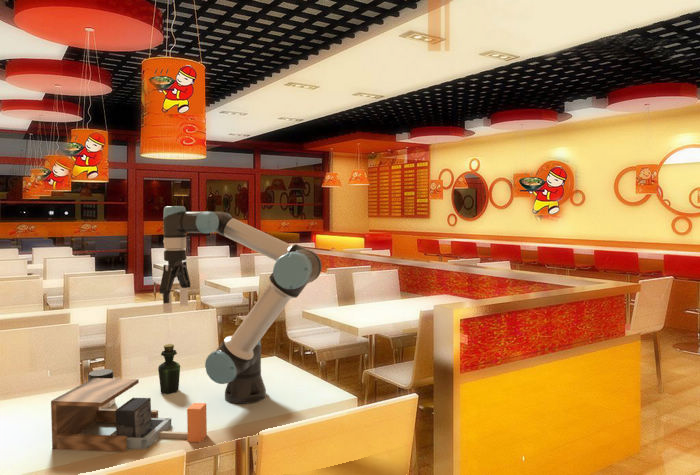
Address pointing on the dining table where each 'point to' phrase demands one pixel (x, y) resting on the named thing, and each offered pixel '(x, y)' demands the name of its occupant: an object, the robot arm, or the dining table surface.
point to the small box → (134, 418)
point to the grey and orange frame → (194, 434)
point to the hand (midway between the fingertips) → (176, 308)
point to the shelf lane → (88, 415)
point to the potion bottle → (169, 371)
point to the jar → (103, 374)
